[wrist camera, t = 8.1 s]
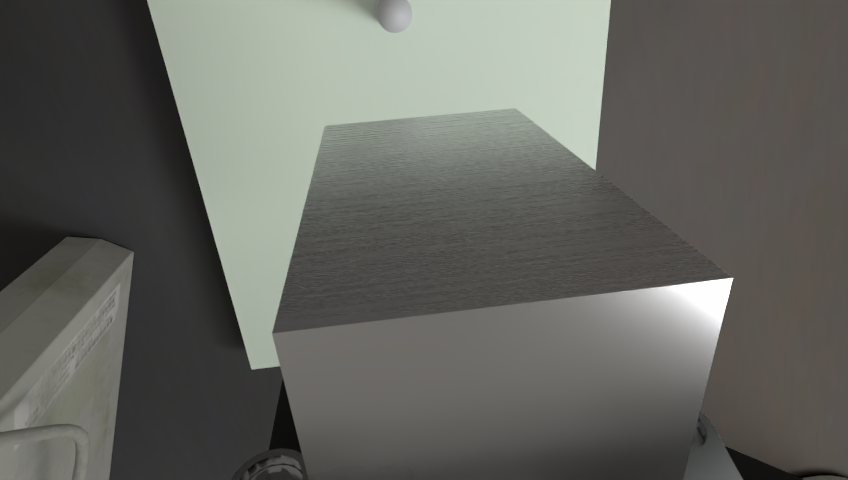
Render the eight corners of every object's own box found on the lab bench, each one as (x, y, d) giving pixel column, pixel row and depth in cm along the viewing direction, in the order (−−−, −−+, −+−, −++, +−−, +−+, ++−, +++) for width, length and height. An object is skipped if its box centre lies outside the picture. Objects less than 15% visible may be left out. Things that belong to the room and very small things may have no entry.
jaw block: (515, 108, 11) (733, 277, 4) (509, 443, 15) (614, 760, 9) (324, 126, 10) (272, 333, 4) (377, 462, 15) (389, 801, 9)
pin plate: (603, -95, 20) (662, -116, 16) (570, 313, 29) (603, 364, 25) (143, -66, 19) (85, -80, 15) (256, 351, 28) (239, 411, 24)
